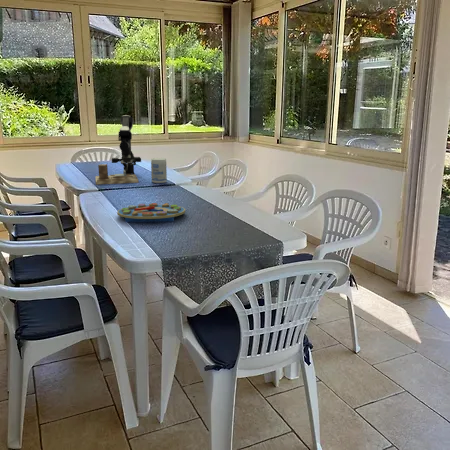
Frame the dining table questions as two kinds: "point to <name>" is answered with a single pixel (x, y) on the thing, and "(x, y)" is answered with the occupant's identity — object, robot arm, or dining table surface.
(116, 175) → the slide cover
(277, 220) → the dining table surface
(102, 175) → the walnut block
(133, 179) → the puzzle board
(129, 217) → the shape sorting clock
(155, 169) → the supplement tub
